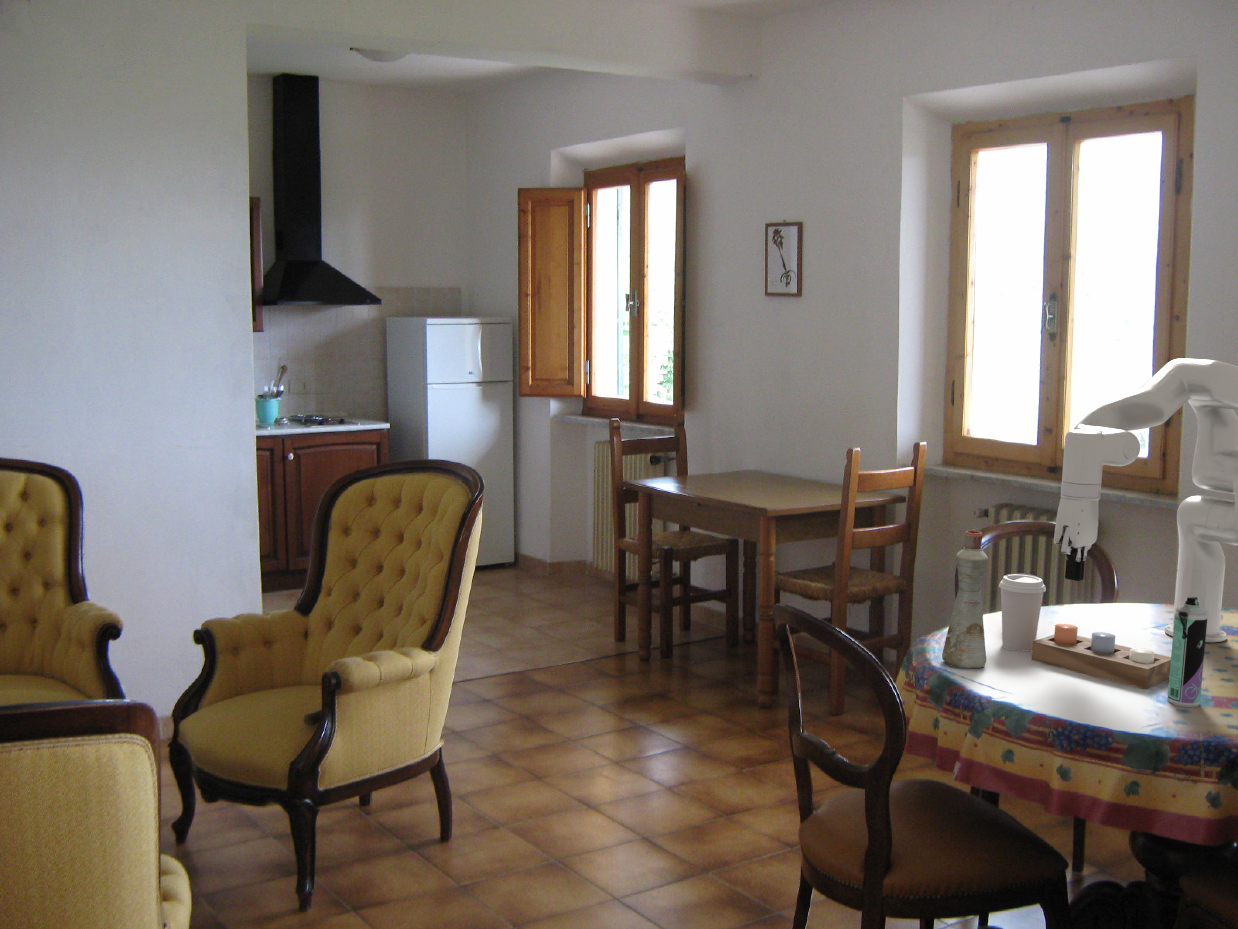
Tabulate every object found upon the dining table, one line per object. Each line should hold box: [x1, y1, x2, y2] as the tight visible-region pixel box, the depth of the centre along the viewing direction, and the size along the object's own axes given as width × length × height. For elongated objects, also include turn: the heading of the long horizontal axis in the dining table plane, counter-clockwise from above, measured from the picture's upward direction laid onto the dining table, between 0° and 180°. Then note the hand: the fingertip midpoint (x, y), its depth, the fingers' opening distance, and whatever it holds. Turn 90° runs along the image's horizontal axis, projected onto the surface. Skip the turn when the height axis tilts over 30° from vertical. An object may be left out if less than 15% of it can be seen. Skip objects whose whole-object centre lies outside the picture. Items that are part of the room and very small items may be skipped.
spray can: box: [1167, 597, 1208, 708], centre depth 224 cm, size 6×6×20 cm
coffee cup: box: [998, 573, 1047, 652], centre depth 259 cm, size 10×10×15 cm
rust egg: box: [1053, 623, 1079, 646], centre depth 251 cm, size 4×4×5 cm
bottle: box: [941, 529, 989, 669], centre depth 244 cm, size 9×9×28 cm
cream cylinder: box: [1129, 647, 1155, 664], centre depth 239 cm, size 4×4×5 cm
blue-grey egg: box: [1091, 631, 1116, 655], centre depth 245 cm, size 4×4×5 cm
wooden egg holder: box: [1030, 634, 1171, 690], centre depth 245 cm, size 12×24×4 cm, turn 42°
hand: (1074, 579), depth 248 cm, fingers closed
